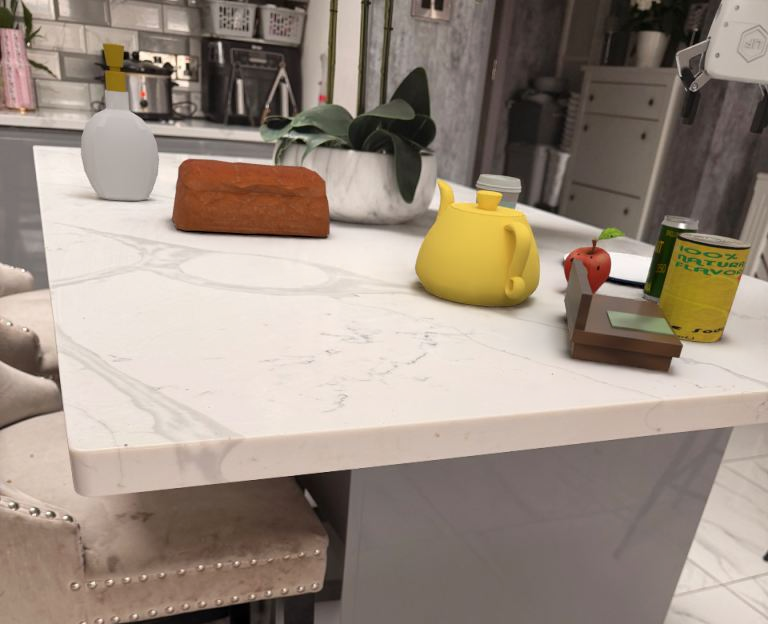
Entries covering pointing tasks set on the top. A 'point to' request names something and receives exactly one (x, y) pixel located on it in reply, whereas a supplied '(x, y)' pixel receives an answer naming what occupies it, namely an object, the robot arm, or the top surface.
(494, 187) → the coffee cup
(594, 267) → the apple
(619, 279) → the plate
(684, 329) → the beverage can
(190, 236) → the top surface
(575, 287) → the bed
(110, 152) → the white rounded bottle
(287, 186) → the bread
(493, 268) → the teapot
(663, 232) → the beer can
